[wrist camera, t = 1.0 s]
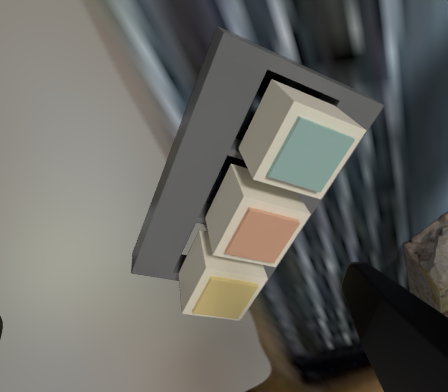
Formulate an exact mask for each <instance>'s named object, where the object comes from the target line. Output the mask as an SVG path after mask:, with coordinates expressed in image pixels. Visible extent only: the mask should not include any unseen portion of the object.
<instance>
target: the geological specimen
mask: <svg viewBox="0 0 448 392" xmlns="http://www.w3.org/2000/svg"><path fill="white" fill-rule="evenodd" d="M403 248H404V255H405V261H406V268H407V275H408V282H409V288H410V292H411V293H412V294H414V295H415V296H417V297H418V298H420V299H421V300H423V301H424V302H426V303H427V304H429V305H430V306H432V307H433V308H435V309H436V310H438V311H439V312H441V313H442V314H444V315H445V316H447V317H448V212H447V213H445V214H443V215H442V216H441V217H440V218H439V219H438V220H437V221H435V222H434V223H432V224H431V225H430V226H428V227H427V228H426V229H425V230H423V231H422V232H421V233H419V234H416V235H414V236H413V237H412V238H411V239H410V241H408V242H405V243H403Z"/></svg>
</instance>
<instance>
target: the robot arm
mask: <svg viewBox="0 0 448 392" xmlns="http://www.w3.org/2000/svg"><path fill="white" fill-rule="evenodd" d="M341 286H342V292H343V294H344V297H345V300H346V303H347V306H348V308H349V311H350V314H351V317H352V320H353V322H354V325H355V328H356V331H357V334H358V336H359V339H360V341H361V344H362V346H363V348H364V350H365V353H366V355H367V357H368V359H369V361H370V363H371V365H372V367H373V369H374V372H375V374H376V376H377V378H378V380H379V382H380V384H381V386H382V388H383V390H384V392H448V317H447V316H445V315H444V314H442V313H441V312H439V311H438V310H436V309H435V308H433V307H432V306H430V305H429V304H427V303H426V302H424V301H423V300H421V299H420V298H418V297H417V296H415V295H414V294H412V293H411V292H410V291H408V290H407V289H405V288H404V287H402V286H401V285H399V284H398V283H396V282H395V281H393V280H392V279H390V278H389V277H387V276H386V275H384V274H383V273H381V272H380V271H378V270H377V269H375V268H374V267H372V266H371V265H369V264H368V263H366V262H362V261H361V262H351V263H350V264H348V266H347V269H346V272H345V274H344V277H343V280H342V285H341ZM2 329H3V322H2V319H1V316H0V338H1V334H2Z"/></svg>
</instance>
